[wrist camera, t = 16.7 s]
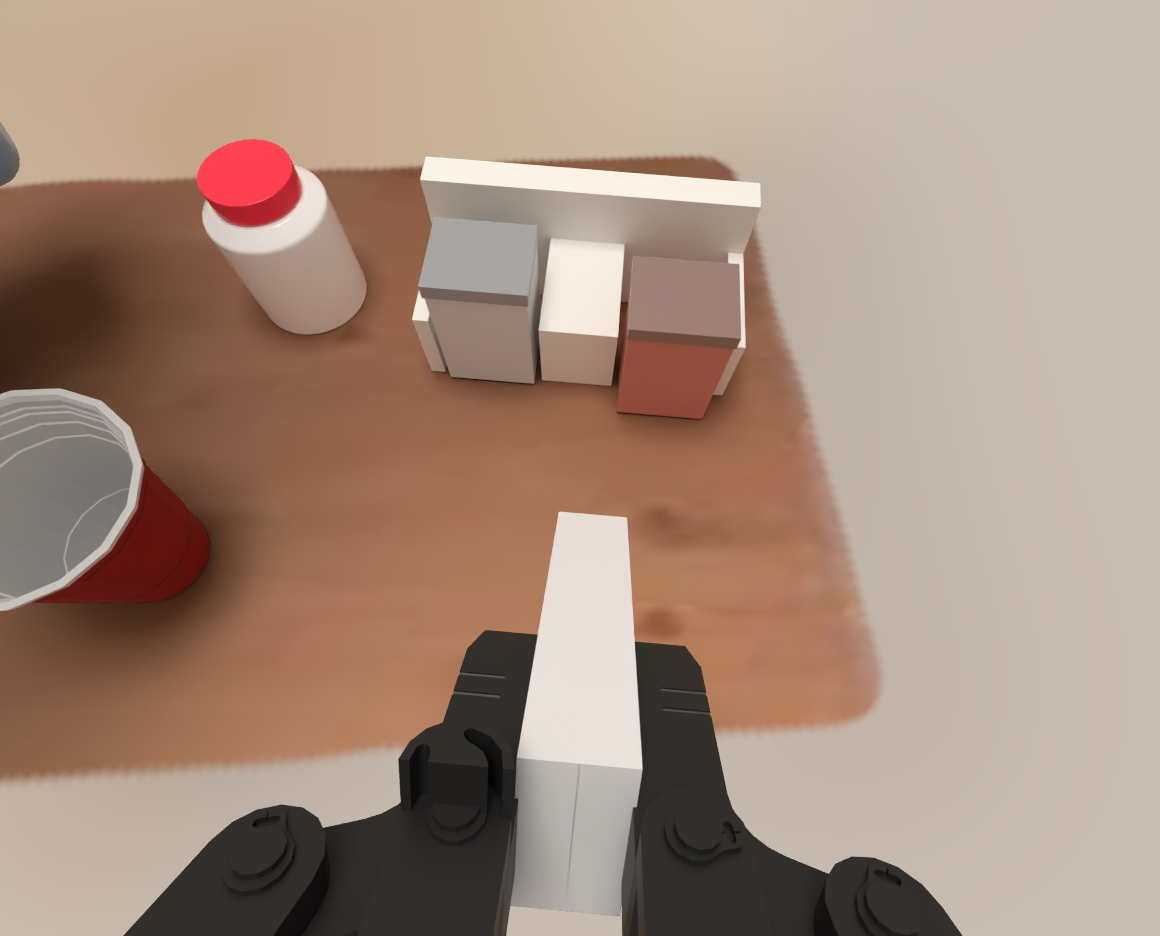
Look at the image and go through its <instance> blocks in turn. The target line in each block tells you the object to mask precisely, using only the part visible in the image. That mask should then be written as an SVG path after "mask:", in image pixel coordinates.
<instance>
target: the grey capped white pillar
mask: <svg viewBox="0 0 1160 936" xmlns="http://www.w3.org/2000/svg"><path fill="white" fill-rule="evenodd" d="M537 244H538V225H527V224H515V223H503V222H491V221H479V220H466V219H454V218H442V217H434V221H433V225H432V229H431V233H430V238H429V242H428V246H427V250H426V255H425V259H424V263H423V267H422V272H421V276H420V280H419V285H418V288H419V291H420V294H421V297H422V298H424V299H425V302H426V305H427V308H428V310H429V313H430V316H431V319H432V322H433V325H434V328H435V331H436V334H437V337H438V340H439V343H440V346H441V349H442V352H443V355H444V358H445V361H446V364H447V367H448V370H449V373H450V376H451V377H460V378H472V379H484V380H495V381H507V382H519V383H531V384H534V382H535V375H536V367H537V359H538V352H539V324H540V316H541V303H540V287H539V270H538V254H537Z"/></svg>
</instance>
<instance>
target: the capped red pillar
mask: <svg viewBox="0 0 1160 936" xmlns="http://www.w3.org/2000/svg"><path fill="white" fill-rule="evenodd" d="M740 340H741V308H740V266H739V264H731V263H719V262H707V261H694V260H682V259H670V258H658V257H646V256H634V255H633V261H632V269H631V285H630V293H629V300H628V307H627V313H626V320H625V327H624V333H623V340H622V346H621V355H620V369H619V384H618V398H617V412H624V413H636V414H648V415H660V416H671V417H683V418H695V419H702V418H703V416H704V413H705V411H706V409H707V407H708V405H709V402H710V400H711V398H712V396H713V394H714V392H715V389H716V387H717V385H718V383H719V381H720V378H721V376H722V374H723V372H724V370H725V367H726V365H727V363H728V361H729V359H730V357H731V354H732V352H733V350H734V349H737V347H738V345H739V342H740Z"/></svg>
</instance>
